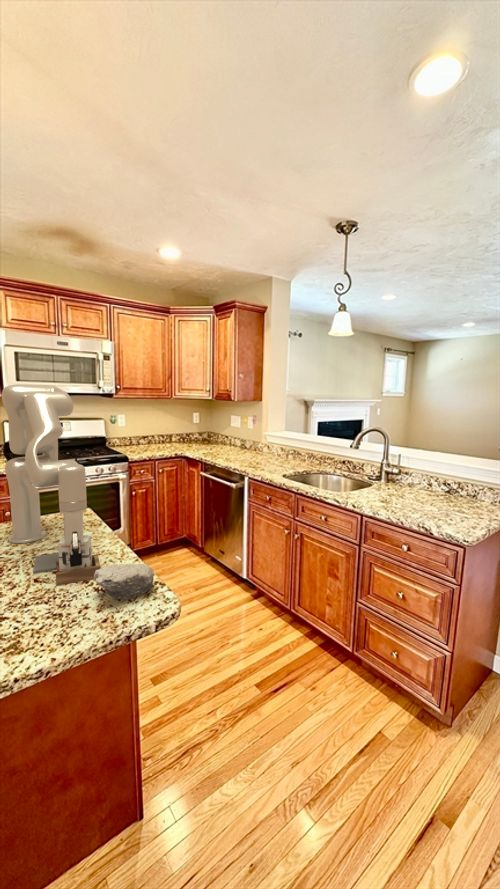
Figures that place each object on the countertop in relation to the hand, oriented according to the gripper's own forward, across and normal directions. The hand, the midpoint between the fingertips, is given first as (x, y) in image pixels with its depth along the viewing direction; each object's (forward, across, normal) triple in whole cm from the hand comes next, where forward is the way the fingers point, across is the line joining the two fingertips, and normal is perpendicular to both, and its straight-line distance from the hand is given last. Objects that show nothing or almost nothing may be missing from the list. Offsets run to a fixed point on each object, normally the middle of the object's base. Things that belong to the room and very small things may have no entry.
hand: (75, 560), depth 113 cm
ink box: (+5, 0, 0) cm, 5 cm away
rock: (+5, +18, +12) cm, 22 cm away
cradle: (+5, 0, 0) cm, 5 cm away
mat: (+5, -12, -6) cm, 14 cm away
